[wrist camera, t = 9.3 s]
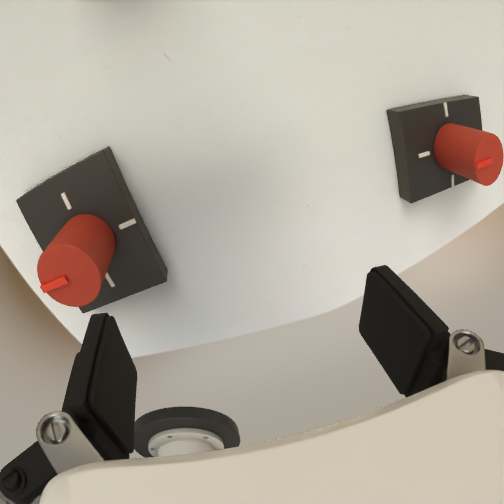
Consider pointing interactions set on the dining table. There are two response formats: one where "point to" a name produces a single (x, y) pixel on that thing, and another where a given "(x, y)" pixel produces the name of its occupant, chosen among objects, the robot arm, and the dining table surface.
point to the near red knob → (77, 260)
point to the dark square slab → (427, 143)
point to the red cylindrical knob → (469, 152)
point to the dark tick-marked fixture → (109, 210)
